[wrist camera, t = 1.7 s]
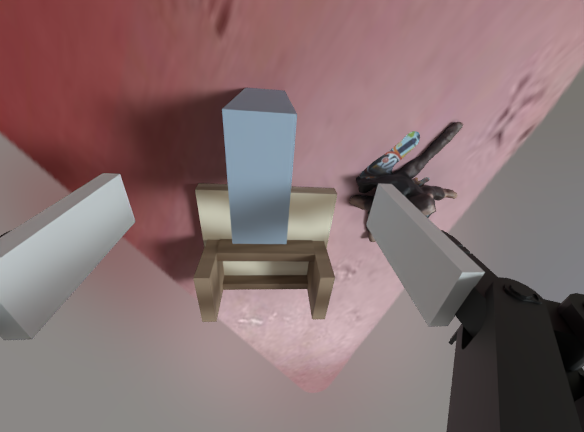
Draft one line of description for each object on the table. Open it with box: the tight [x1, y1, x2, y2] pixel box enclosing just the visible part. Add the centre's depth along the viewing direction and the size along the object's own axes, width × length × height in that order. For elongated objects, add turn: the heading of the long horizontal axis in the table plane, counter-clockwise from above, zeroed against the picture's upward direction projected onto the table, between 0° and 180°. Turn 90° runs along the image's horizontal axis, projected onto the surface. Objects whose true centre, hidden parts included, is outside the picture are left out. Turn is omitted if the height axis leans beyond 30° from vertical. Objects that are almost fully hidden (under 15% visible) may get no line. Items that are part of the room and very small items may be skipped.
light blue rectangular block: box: [222, 88, 297, 244], centre depth 18 cm, size 8×4×12 cm, turn 176°
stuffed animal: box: [350, 122, 463, 242], centre depth 27 cm, size 12×10×12 cm
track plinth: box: [193, 183, 337, 322], centre depth 27 cm, size 14×15×8 cm
